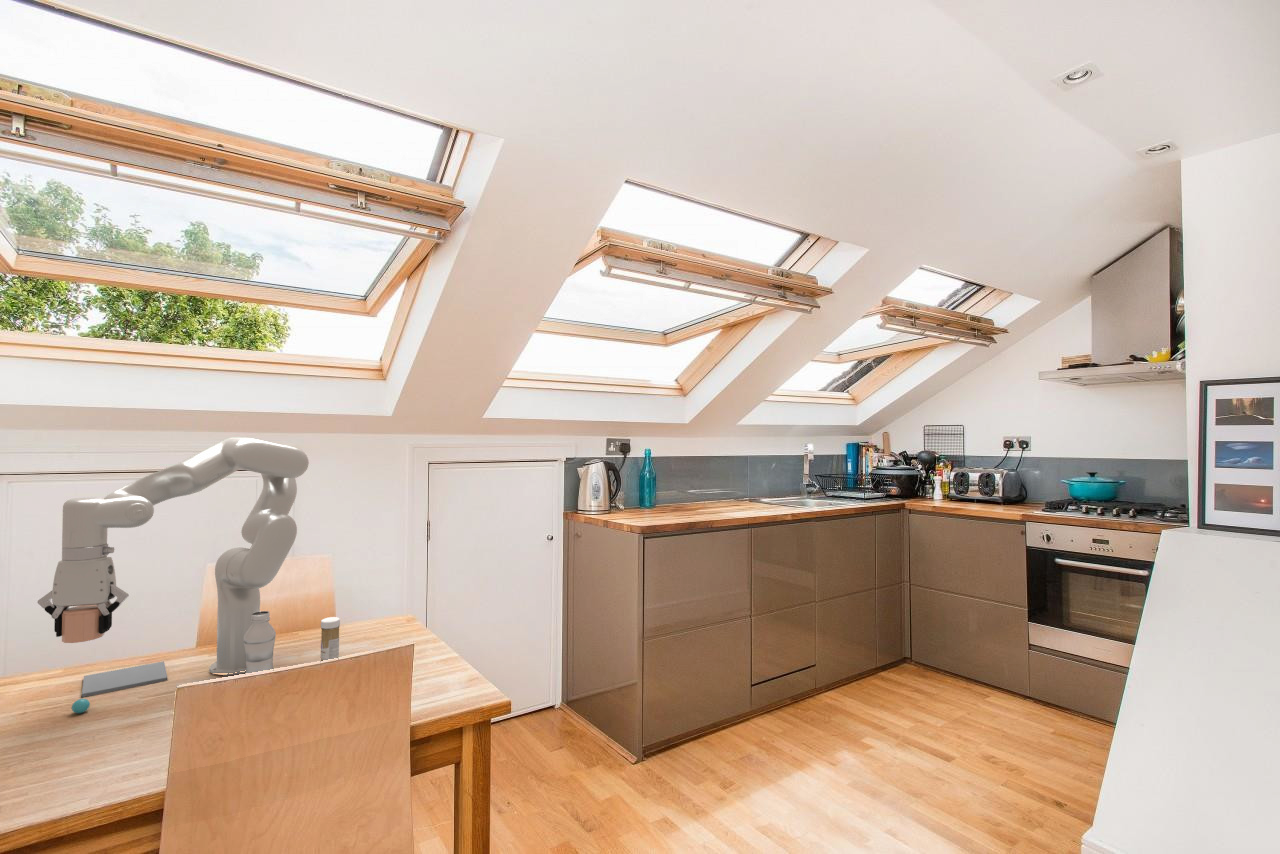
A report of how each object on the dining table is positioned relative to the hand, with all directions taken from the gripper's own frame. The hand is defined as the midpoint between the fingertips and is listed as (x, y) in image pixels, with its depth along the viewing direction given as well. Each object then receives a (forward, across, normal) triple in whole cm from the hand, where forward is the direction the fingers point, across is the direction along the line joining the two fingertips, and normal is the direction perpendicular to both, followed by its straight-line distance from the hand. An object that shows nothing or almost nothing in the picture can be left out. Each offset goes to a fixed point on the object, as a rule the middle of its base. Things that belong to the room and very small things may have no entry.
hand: (83, 632), depth 137 cm
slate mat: (+18, 0, -19) cm, 26 cm away
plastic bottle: (+18, -35, +3) cm, 40 cm away
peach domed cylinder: (+1, 0, 0) cm, 1 cm away
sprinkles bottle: (+18, -48, -12) cm, 53 cm away
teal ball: (+18, 0, 0) cm, 18 cm away
